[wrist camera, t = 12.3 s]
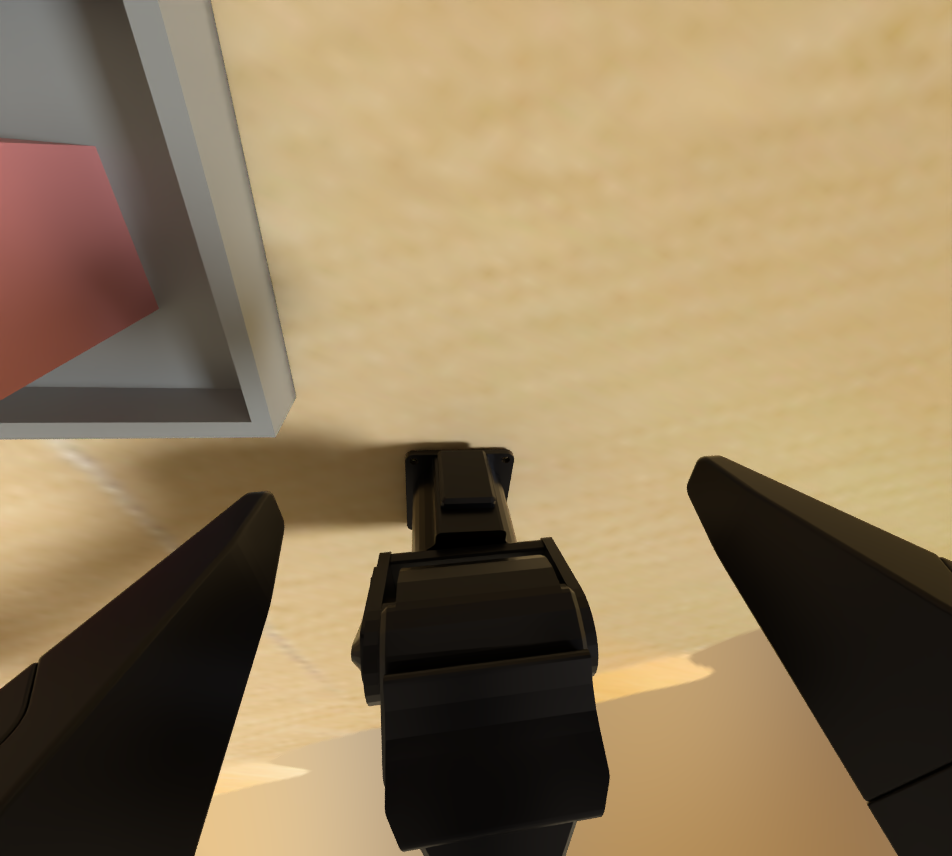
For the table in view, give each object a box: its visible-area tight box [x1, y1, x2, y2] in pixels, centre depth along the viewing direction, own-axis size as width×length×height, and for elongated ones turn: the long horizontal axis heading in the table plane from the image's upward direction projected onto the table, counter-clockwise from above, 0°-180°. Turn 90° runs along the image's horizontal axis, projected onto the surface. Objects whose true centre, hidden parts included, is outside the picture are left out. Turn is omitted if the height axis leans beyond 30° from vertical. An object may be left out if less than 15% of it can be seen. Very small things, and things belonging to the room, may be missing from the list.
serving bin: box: [0, 0, 296, 439], centre depth 13 cm, size 15×15×4 cm
